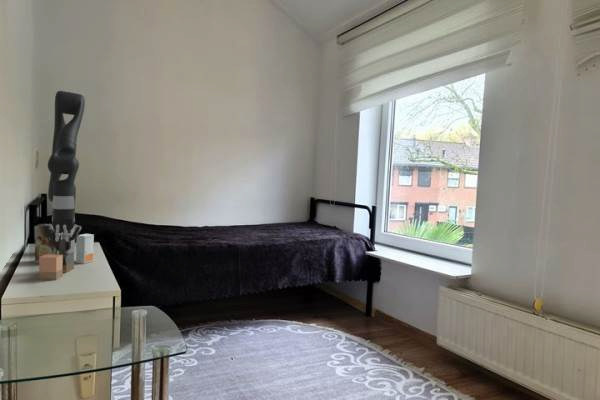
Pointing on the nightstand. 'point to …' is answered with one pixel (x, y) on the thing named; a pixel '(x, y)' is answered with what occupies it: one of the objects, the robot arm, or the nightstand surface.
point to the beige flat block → (62, 249)
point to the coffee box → (44, 242)
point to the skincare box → (84, 248)
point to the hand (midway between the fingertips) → (63, 250)
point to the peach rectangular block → (50, 267)
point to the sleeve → (68, 263)
